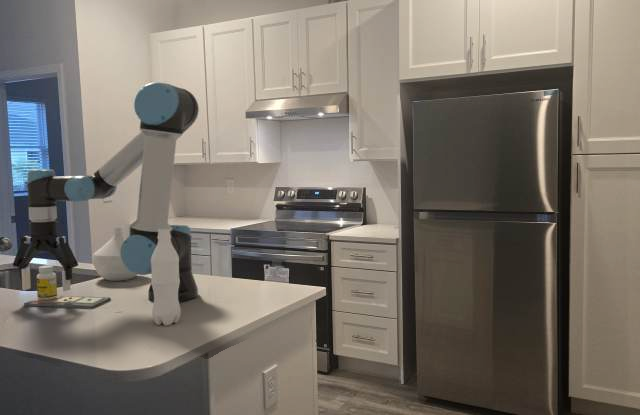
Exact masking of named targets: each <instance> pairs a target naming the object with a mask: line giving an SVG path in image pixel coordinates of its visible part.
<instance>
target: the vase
mask: <svg viewBox="0 0 640 415" xmlns="http://www.w3.org/2000/svg"><path fill="white" fill-rule="evenodd" d="M126 239H127V238H126V237H125V236H124V232H123V226H114V227H113V235H112V237H111V238H110V240H108V241H106V242H105V243H104V245H102V246H101V247H100V248H99V249H97V250H96V251H95V252H94V253H93V254H92V260H91V261H92V265H93V267H94V269H95V272H96V273H97V274H98V275H99V276H100V277H102V279H104V280H106V281H109V282H119V281H127V280H131V279H133V278H135V277H136V276H137V275H138V274H135V273H133V272H131V271H130V270H128V269H127V267H126V266H125V265H124V263H123V262H122V259H121V254H120V250H121V246H122V243H123V242H124V241H125V240H126Z"/></svg>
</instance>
